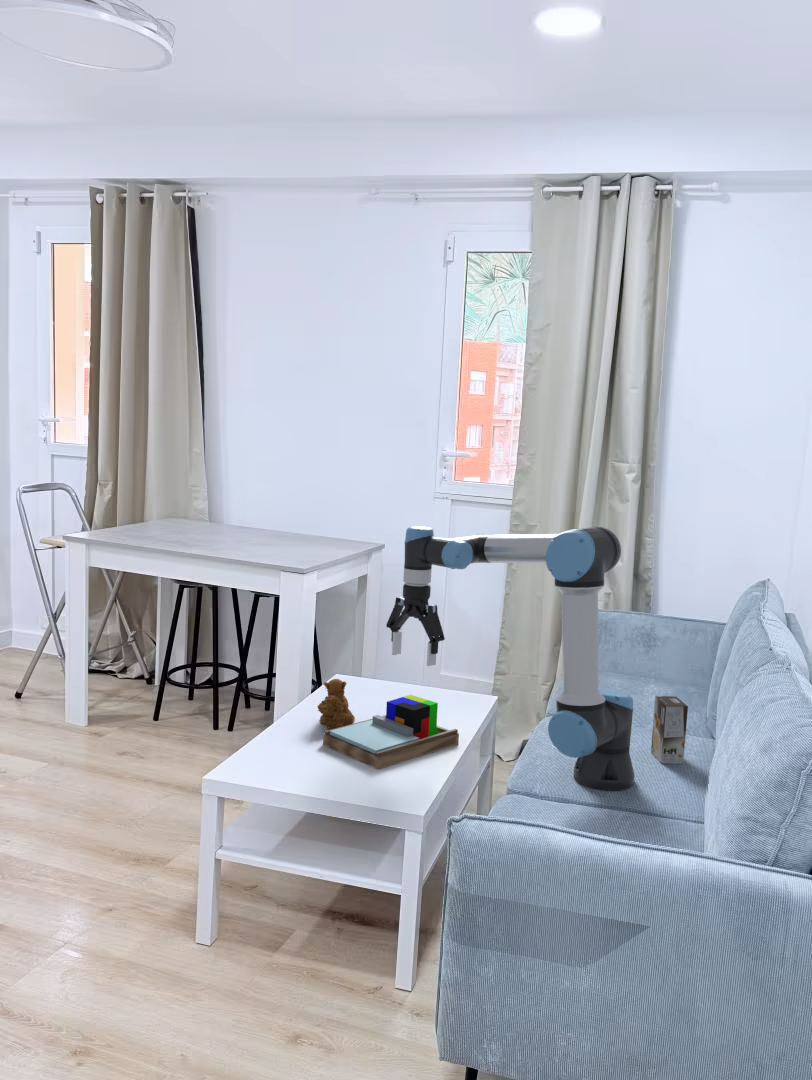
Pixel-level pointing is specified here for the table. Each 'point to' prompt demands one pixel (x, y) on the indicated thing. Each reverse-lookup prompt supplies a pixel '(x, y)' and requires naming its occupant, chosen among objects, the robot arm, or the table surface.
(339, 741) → the wooden box
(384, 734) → the lid
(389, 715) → the puzzle toy
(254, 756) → the table surface
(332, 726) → the brown furry figure
